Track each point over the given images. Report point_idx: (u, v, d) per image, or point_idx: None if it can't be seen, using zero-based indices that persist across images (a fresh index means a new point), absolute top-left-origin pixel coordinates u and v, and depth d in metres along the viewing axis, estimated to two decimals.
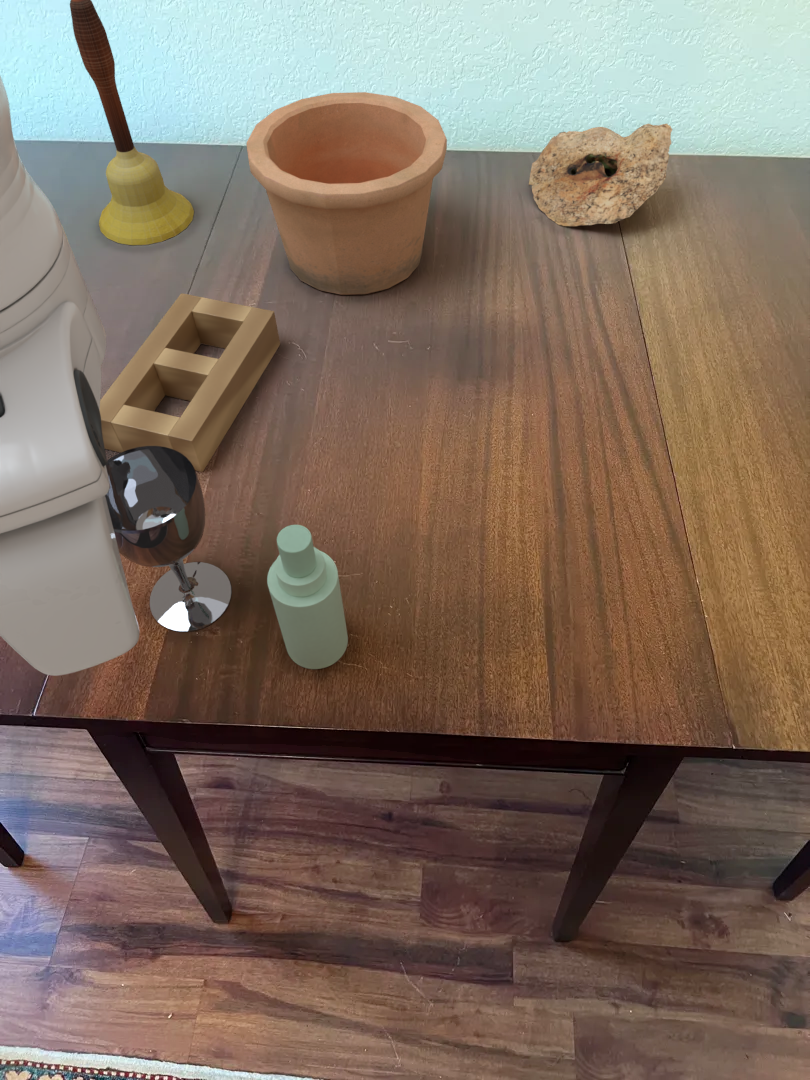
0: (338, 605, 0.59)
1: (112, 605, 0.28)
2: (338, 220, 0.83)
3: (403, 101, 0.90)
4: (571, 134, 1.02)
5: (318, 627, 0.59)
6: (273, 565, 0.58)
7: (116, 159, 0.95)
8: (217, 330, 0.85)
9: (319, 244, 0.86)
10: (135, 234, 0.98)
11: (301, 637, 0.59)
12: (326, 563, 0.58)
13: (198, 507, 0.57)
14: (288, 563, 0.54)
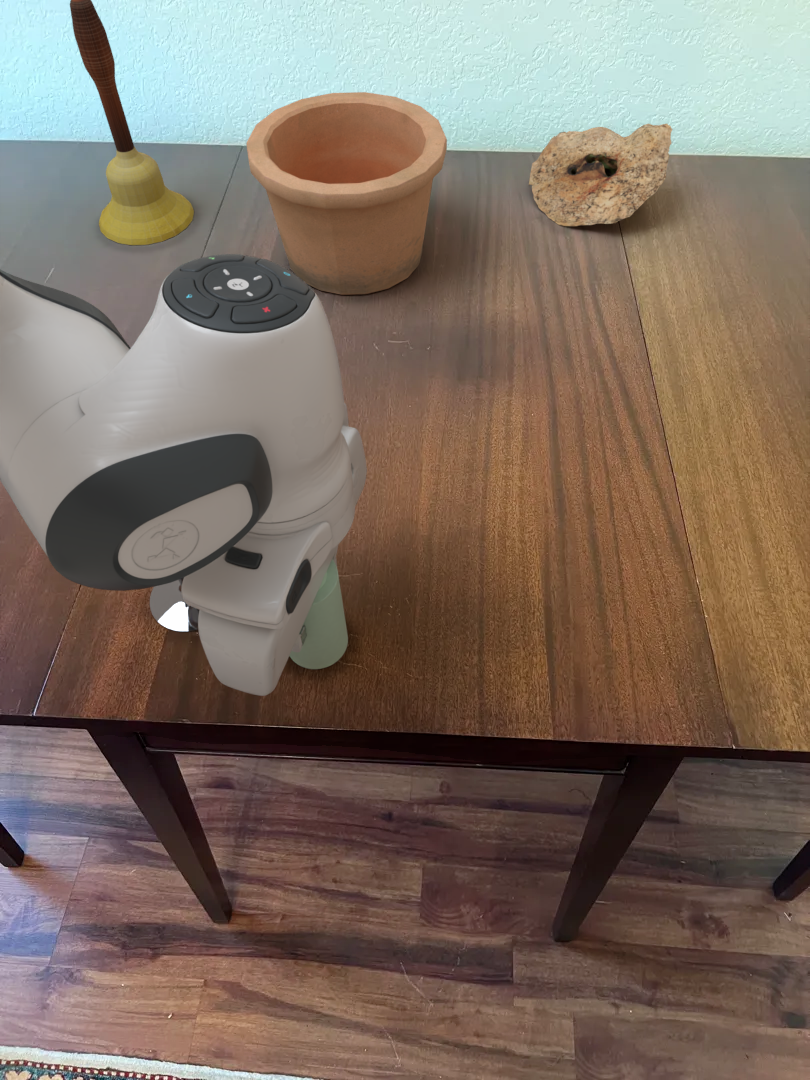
0: (338, 605, 0.59)
1: (260, 675, 0.48)
2: (338, 220, 0.83)
3: (403, 101, 0.90)
4: (571, 134, 1.02)
5: (318, 627, 0.59)
6: None
7: (116, 159, 0.95)
8: None
9: (319, 244, 0.86)
10: (135, 234, 0.98)
11: None
12: None
13: None
14: None
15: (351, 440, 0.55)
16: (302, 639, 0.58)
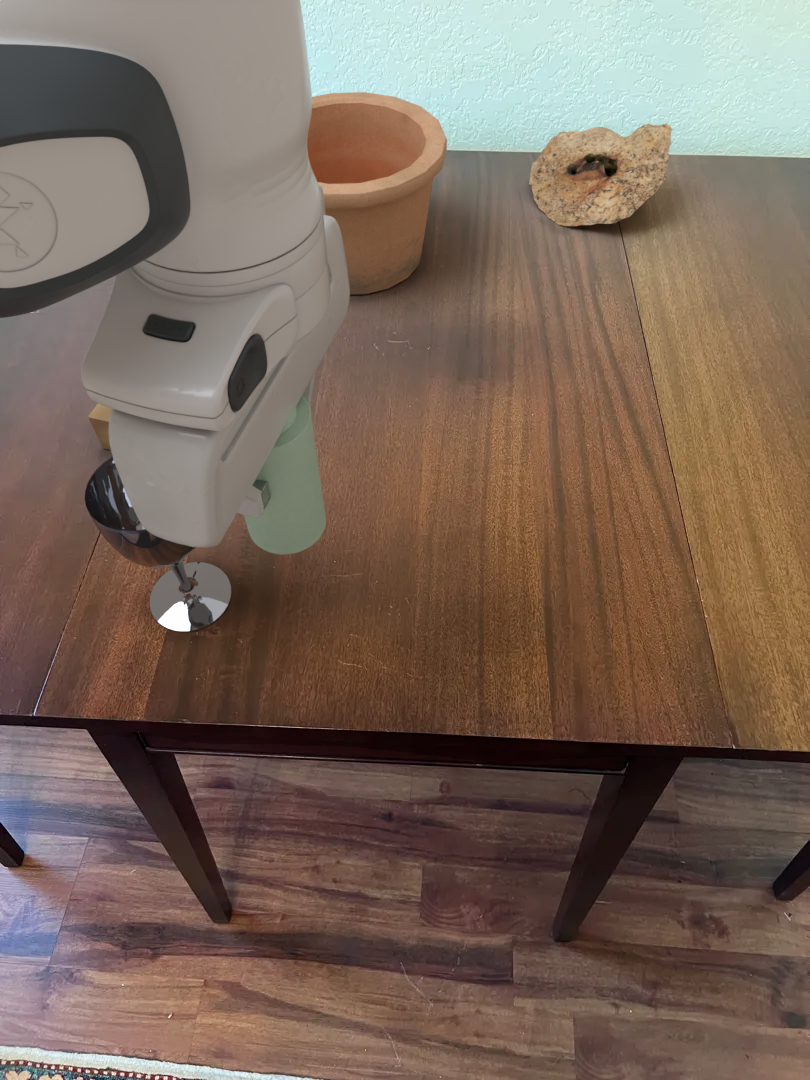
0: (312, 459, 0.46)
1: (196, 509, 0.35)
2: (338, 220, 0.83)
3: (403, 101, 0.90)
4: (571, 134, 1.02)
5: (285, 487, 0.45)
6: None
7: None
8: None
9: None
10: None
11: None
12: None
13: None
14: None
15: (328, 228, 0.42)
16: (263, 499, 0.45)
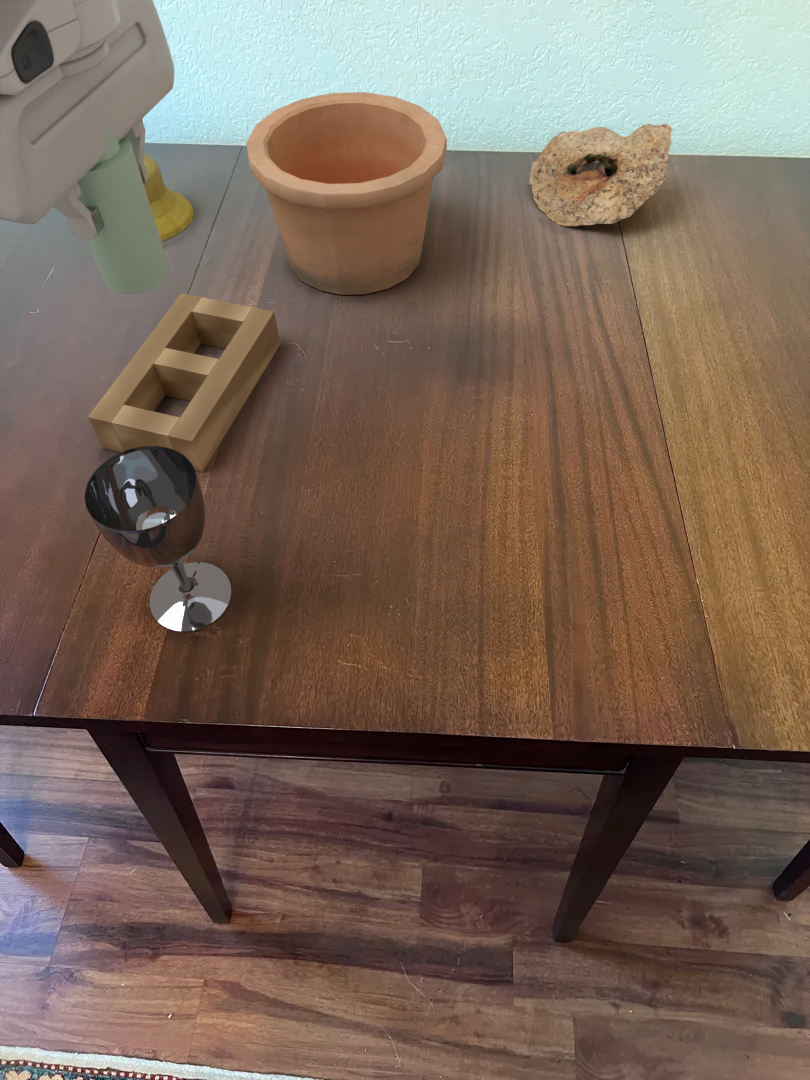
0: (138, 194, 0.56)
1: (5, 172, 0.46)
2: (338, 220, 0.83)
3: (403, 101, 0.90)
4: (571, 134, 1.02)
5: (115, 215, 0.56)
6: None
7: None
8: (217, 330, 0.85)
9: (319, 244, 0.86)
10: None
11: (100, 231, 0.57)
12: (121, 142, 0.55)
13: (198, 507, 0.57)
14: None
15: None
16: (95, 222, 0.55)
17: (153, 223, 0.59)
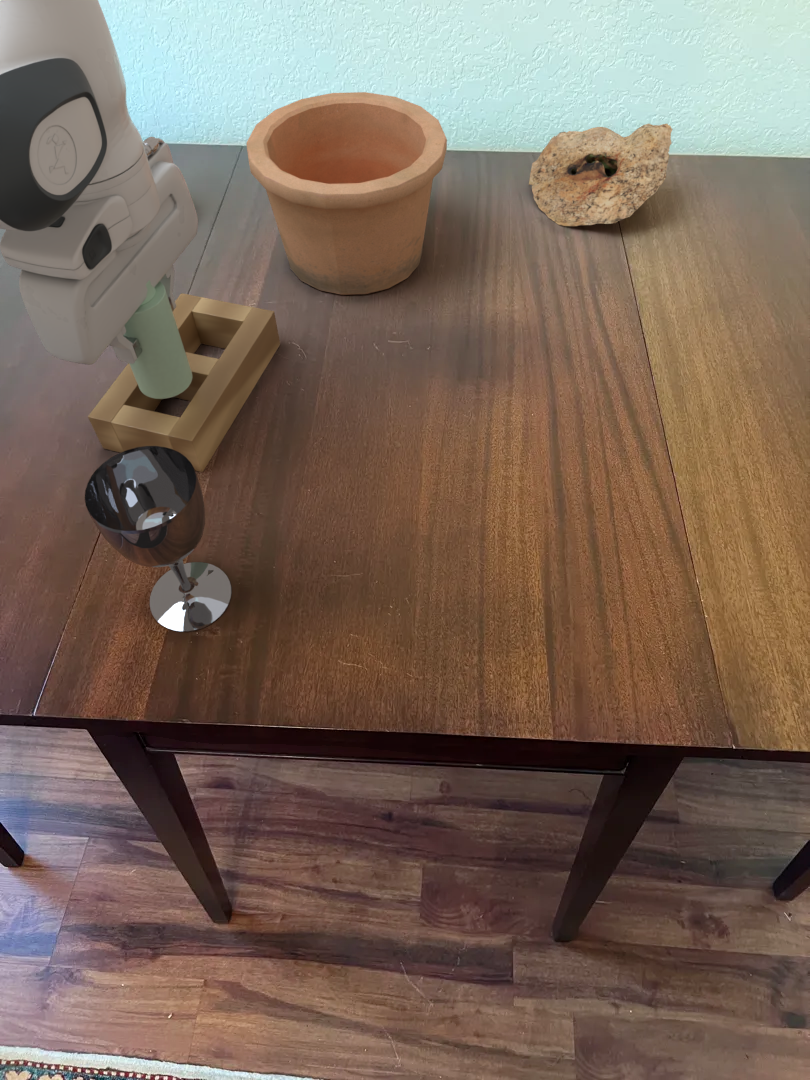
0: (169, 326, 0.69)
1: (73, 332, 0.59)
2: (338, 220, 0.83)
3: (403, 101, 0.90)
4: (571, 134, 1.02)
5: (151, 343, 0.69)
6: None
7: None
8: (217, 330, 0.85)
9: (319, 244, 0.86)
10: None
11: None
12: (156, 285, 0.68)
13: (198, 507, 0.57)
14: None
15: (169, 170, 0.66)
16: (135, 350, 0.68)
17: (180, 344, 0.72)
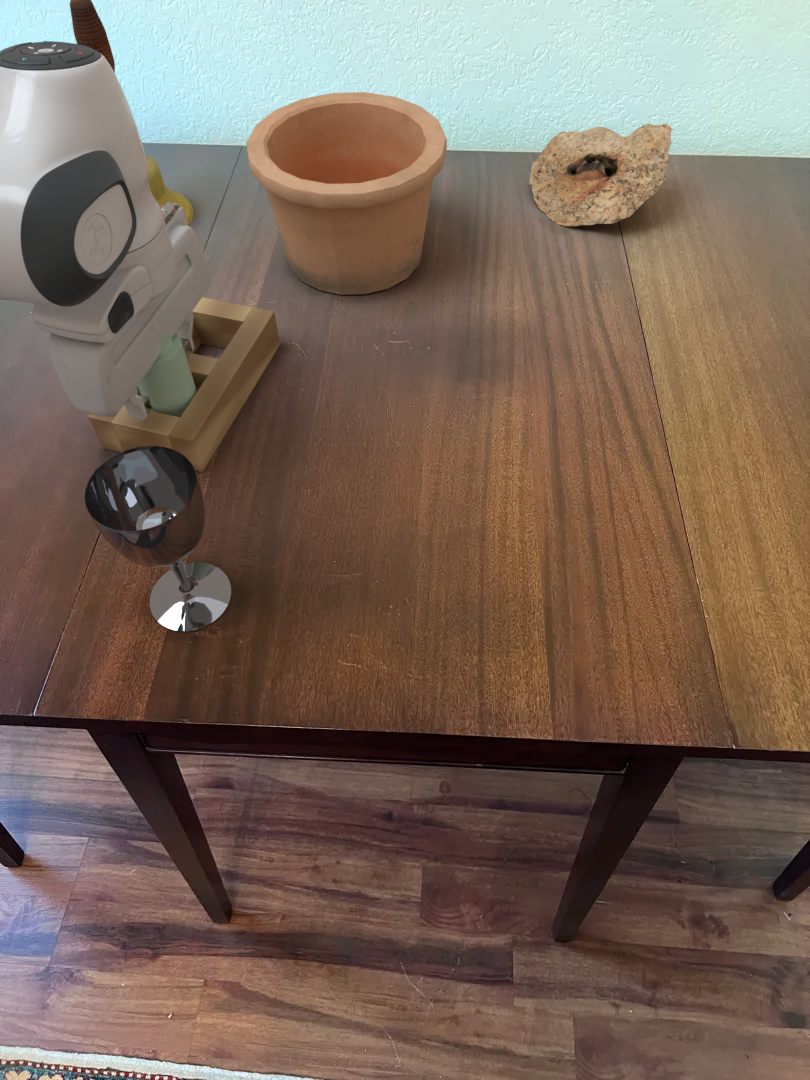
0: (184, 374, 0.74)
1: (97, 389, 0.63)
2: (338, 220, 0.83)
3: (403, 101, 0.90)
4: (571, 134, 1.02)
5: (168, 391, 0.74)
6: None
7: None
8: (217, 330, 0.85)
9: (319, 244, 0.86)
10: None
11: (156, 401, 0.75)
12: (173, 337, 0.73)
13: (198, 507, 0.57)
14: None
15: (185, 233, 0.70)
16: (146, 408, 0.73)
17: (194, 389, 0.77)
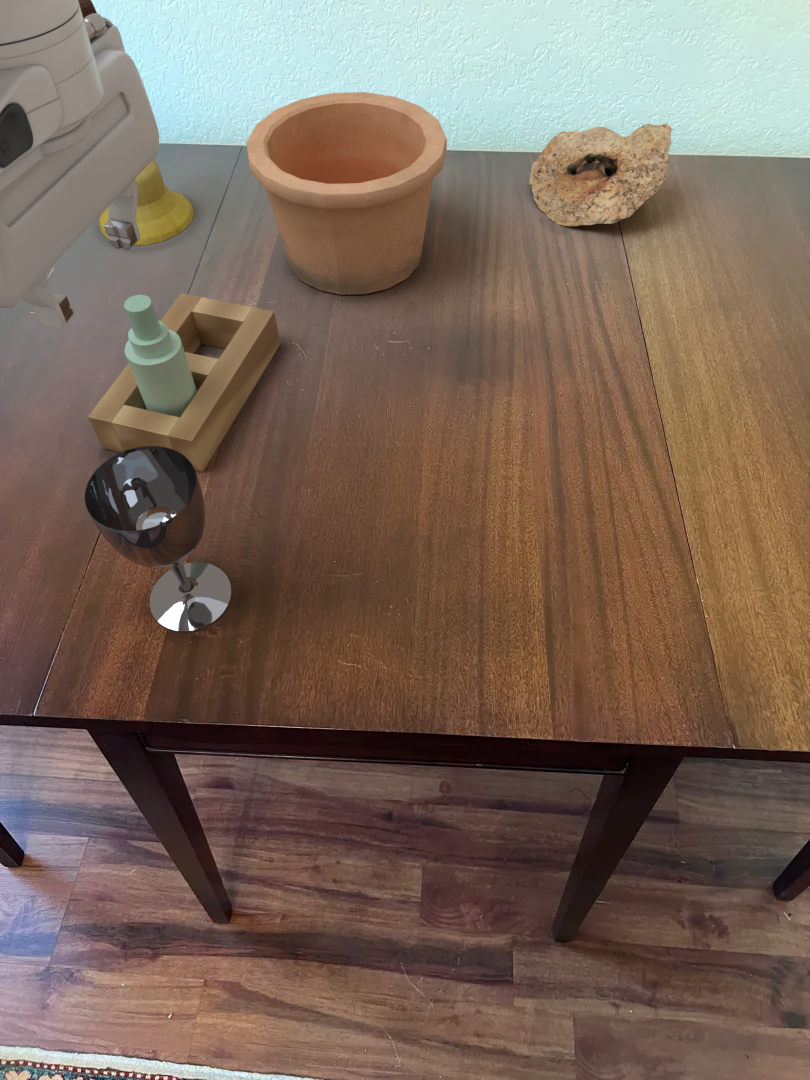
0: (184, 374, 0.74)
1: None
2: (338, 220, 0.83)
3: (403, 101, 0.90)
4: (571, 134, 1.02)
5: (168, 391, 0.74)
6: None
7: None
8: (217, 330, 0.85)
9: (319, 244, 0.86)
10: None
11: (156, 401, 0.75)
12: (173, 337, 0.73)
13: (198, 507, 0.57)
14: (134, 324, 0.69)
15: (119, 59, 0.50)
16: (64, 311, 0.52)
17: (194, 389, 0.77)
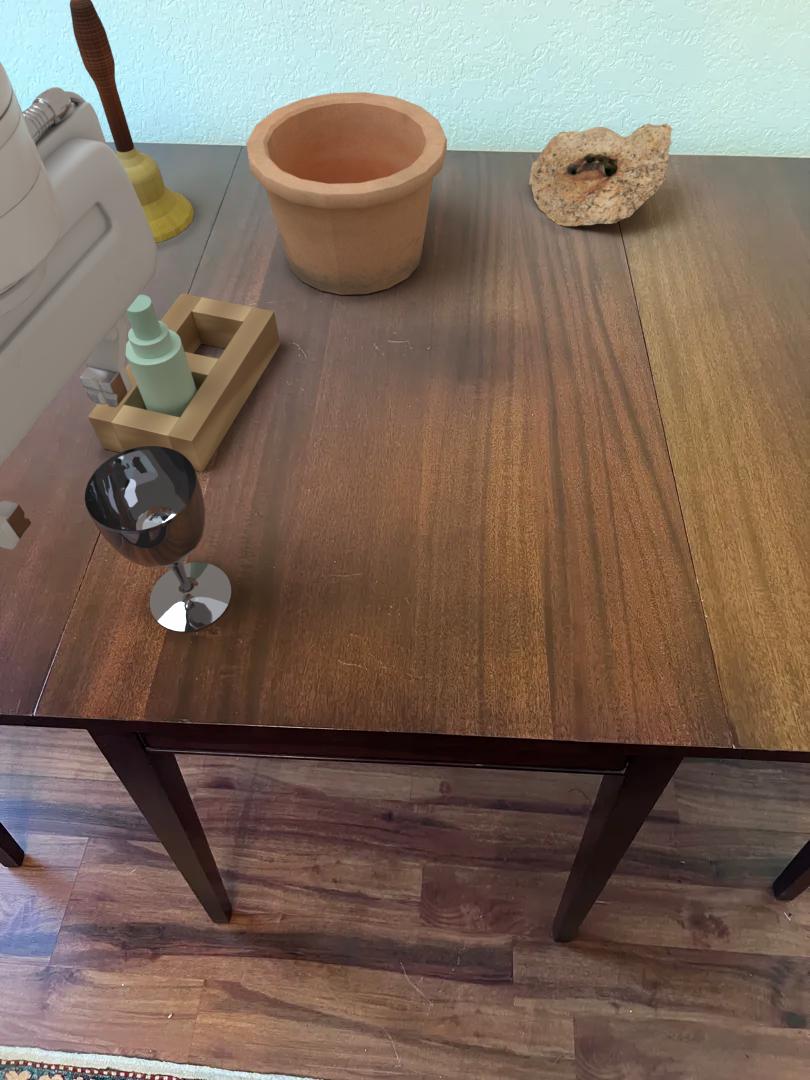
0: (184, 374, 0.74)
1: None
2: (338, 220, 0.83)
3: (403, 101, 0.90)
4: (571, 134, 1.02)
5: (168, 391, 0.74)
6: None
7: None
8: (217, 330, 0.85)
9: (319, 244, 0.86)
10: None
11: (156, 401, 0.75)
12: (173, 337, 0.73)
13: (198, 507, 0.57)
14: (134, 324, 0.69)
15: (92, 156, 0.33)
16: (15, 526, 0.35)
17: (194, 389, 0.77)
